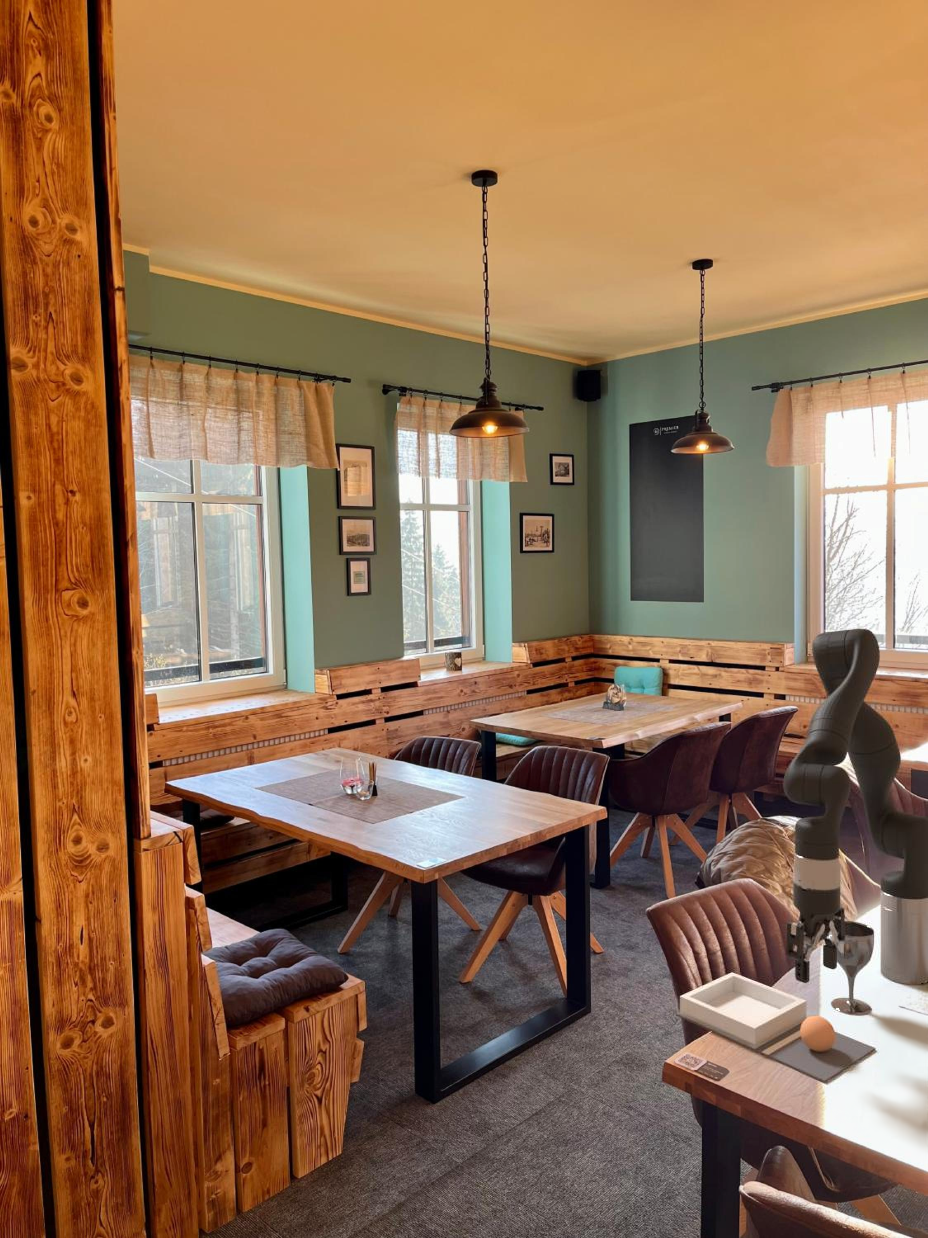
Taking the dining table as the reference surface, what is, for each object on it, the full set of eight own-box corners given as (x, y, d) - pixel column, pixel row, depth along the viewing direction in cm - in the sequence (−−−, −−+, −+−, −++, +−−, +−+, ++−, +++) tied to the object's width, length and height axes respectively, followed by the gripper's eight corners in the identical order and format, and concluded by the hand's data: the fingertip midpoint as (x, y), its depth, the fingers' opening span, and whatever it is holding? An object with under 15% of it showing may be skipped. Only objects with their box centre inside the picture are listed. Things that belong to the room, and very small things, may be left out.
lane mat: (727, 990, 180) (727, 988, 180) (875, 1050, 156) (875, 1047, 156) (675, 1015, 170) (675, 1013, 170) (824, 1083, 146) (824, 1080, 146)
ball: (811, 1038, 160) (811, 1007, 160) (841, 1050, 155) (841, 1018, 155) (793, 1048, 156) (793, 1016, 156) (824, 1062, 152) (823, 1029, 152)
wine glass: (819, 1001, 174) (819, 924, 174) (851, 994, 177) (851, 918, 177) (850, 1020, 167) (850, 939, 166) (883, 1012, 170) (883, 933, 169)
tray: (732, 990, 179) (732, 972, 179) (806, 1020, 166) (806, 1001, 166) (680, 1015, 169) (679, 996, 169) (754, 1049, 156) (754, 1028, 156)
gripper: (819, 867, 162) (818, 957, 163) (772, 884, 153) (772, 978, 154) (859, 877, 156) (859, 970, 157) (813, 895, 147) (813, 994, 148)
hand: (816, 974), depth 155 cm, fingers open, 8 cm apart
